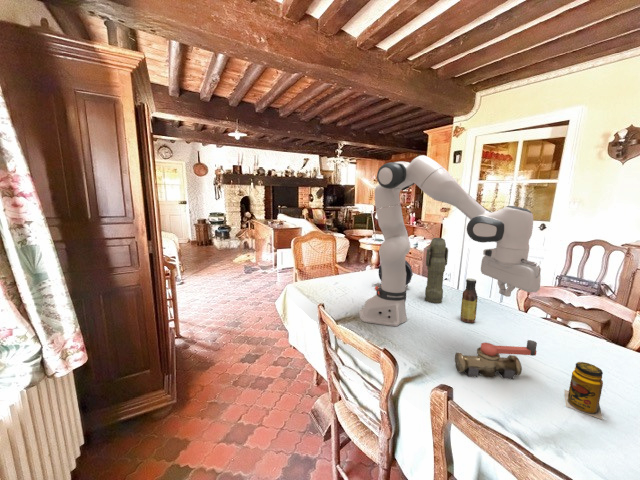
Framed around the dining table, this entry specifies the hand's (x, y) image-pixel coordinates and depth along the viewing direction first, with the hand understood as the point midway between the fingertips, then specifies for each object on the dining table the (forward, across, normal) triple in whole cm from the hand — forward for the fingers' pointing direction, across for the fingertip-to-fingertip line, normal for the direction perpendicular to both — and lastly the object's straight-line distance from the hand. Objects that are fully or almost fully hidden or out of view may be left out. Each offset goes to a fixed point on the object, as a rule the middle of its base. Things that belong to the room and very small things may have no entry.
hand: (504, 295), depth 91 cm
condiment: (+24, -22, -8) cm, 34 cm away
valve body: (+24, -6, +8) cm, 26 cm away
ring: (+26, +75, +4) cm, 79 cm away
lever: (+17, -7, +3) cm, 19 cm away
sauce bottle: (+25, +29, -12) cm, 40 cm away
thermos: (+25, +53, -10) cm, 59 cm away
